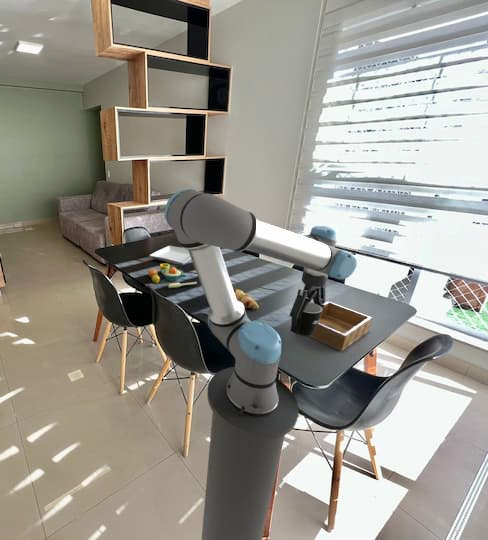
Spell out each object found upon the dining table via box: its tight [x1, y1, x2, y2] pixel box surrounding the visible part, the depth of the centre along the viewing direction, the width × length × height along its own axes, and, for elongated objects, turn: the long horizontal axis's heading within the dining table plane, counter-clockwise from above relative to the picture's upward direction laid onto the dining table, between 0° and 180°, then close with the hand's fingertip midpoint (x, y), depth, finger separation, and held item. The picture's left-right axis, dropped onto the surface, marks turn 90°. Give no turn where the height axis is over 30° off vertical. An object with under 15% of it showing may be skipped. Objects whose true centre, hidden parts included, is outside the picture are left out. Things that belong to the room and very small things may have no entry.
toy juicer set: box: [148, 262, 198, 289], centre depth 164 cm, size 29×18×8 cm, turn 36°
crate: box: [309, 300, 373, 352], centre depth 116 cm, size 22×17×7 cm
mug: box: [291, 301, 322, 337], centre depth 104 cm, size 12×9×10 cm
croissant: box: [233, 288, 259, 310], centre depth 139 cm, size 21×10×8 cm, turn 45°
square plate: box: [149, 245, 192, 266], centre depth 202 cm, size 27×27×4 cm
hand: (304, 326), depth 105 cm, fingers closed on mug, 12 cm apart
